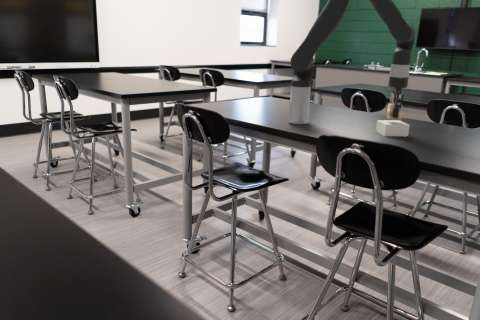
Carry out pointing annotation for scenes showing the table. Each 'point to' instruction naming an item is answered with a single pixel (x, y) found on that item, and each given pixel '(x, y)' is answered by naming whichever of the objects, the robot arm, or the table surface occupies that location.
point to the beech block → (390, 112)
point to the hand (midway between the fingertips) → (393, 116)
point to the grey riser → (392, 128)
